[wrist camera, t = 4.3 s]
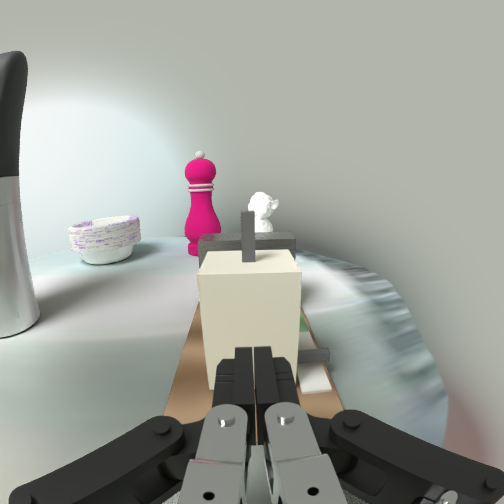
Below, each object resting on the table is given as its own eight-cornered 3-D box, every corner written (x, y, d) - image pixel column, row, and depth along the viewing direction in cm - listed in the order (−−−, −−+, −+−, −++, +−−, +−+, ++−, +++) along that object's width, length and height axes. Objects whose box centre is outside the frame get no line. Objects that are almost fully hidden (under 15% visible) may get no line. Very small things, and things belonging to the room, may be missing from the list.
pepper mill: (218, 256, 55) (215, 147, 50) (181, 256, 56) (176, 150, 51) (224, 247, 62) (221, 151, 57) (190, 247, 63) (186, 153, 58)
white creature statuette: (220, 261, 52) (217, 193, 49) (253, 251, 59) (251, 190, 56) (261, 272, 46) (260, 194, 43) (293, 259, 52) (293, 191, 49)
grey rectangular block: (294, 301, 32) (295, 238, 30) (202, 304, 32) (197, 241, 30) (288, 288, 36) (289, 231, 34) (206, 290, 36) (202, 233, 34)
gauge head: (336, 382, 18) (353, 216, 15) (209, 389, 18) (193, 218, 15) (320, 344, 23) (328, 206, 20) (215, 349, 23) (205, 208, 20)
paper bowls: (81, 253, 60) (77, 219, 58) (143, 247, 65) (140, 212, 63) (64, 273, 46) (58, 230, 44) (141, 265, 51) (137, 221, 49)
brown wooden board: (344, 433, 15) (348, 418, 14) (163, 439, 15) (158, 425, 14) (292, 297, 36) (293, 286, 36) (203, 299, 36) (202, 289, 36)
